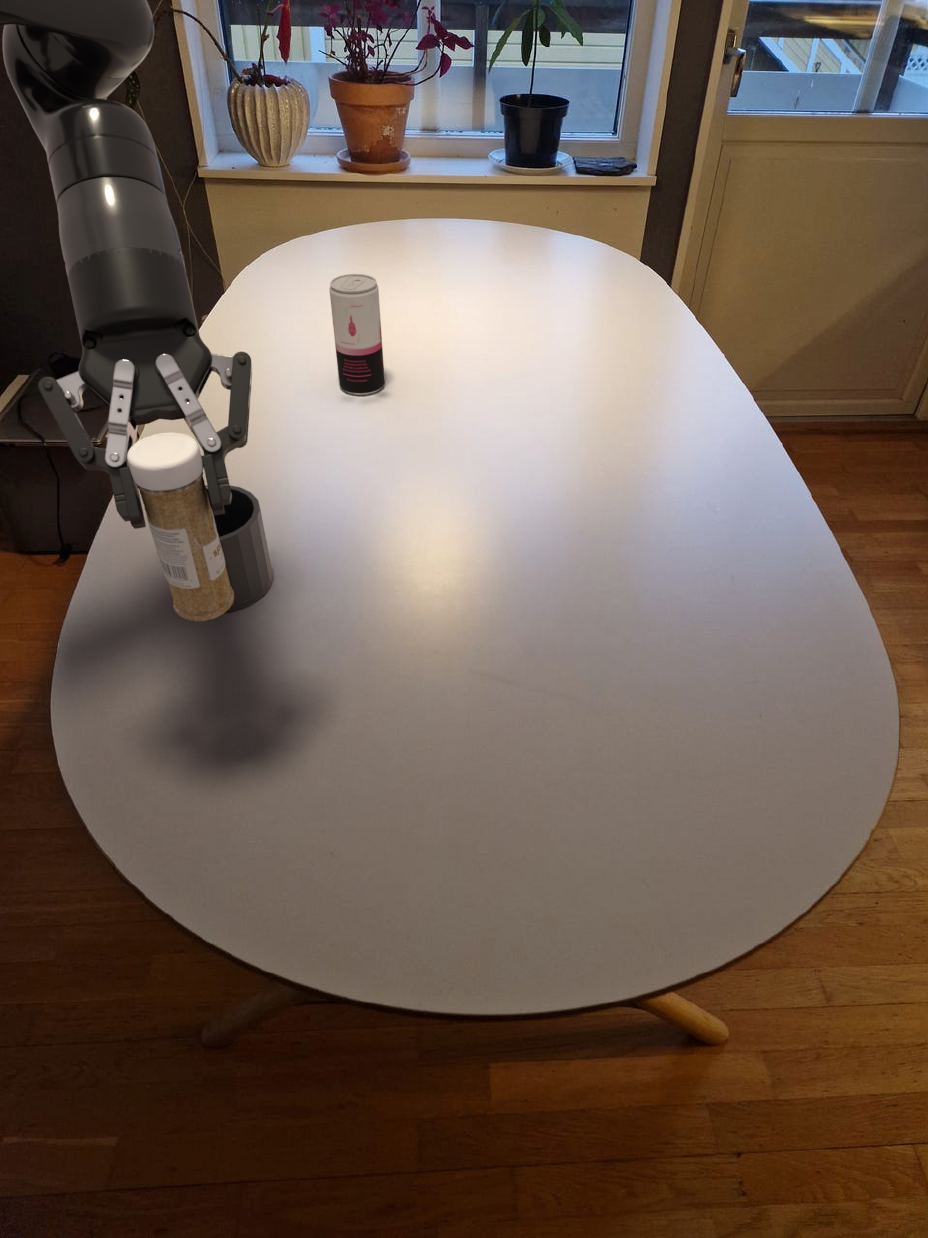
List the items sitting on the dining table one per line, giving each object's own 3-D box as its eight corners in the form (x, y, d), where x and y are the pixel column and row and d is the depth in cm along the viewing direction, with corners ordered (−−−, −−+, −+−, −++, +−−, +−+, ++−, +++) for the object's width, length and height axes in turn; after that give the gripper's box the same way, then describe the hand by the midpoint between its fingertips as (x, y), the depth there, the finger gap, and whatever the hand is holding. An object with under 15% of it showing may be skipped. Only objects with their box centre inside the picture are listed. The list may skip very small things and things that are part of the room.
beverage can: (392, 379, 127) (386, 276, 117) (372, 399, 122) (364, 294, 112) (352, 372, 128) (342, 270, 118) (331, 391, 124) (320, 287, 114)
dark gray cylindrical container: (178, 622, 87) (157, 551, 81) (172, 563, 94) (152, 493, 88) (279, 602, 89) (266, 532, 83) (265, 545, 97) (252, 477, 91)
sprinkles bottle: (247, 604, 65) (211, 447, 56) (193, 633, 62) (147, 474, 53) (214, 576, 67) (174, 421, 58) (161, 603, 65) (112, 446, 56)
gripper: (-6, 255, 52) (51, 529, 52) (232, 231, 56) (288, 488, 55) (29, 308, 60) (79, 548, 59) (237, 284, 63) (286, 511, 62)
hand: (179, 517), depth 57 cm, fingers closed on sprinkles bottle, 4 cm apart
